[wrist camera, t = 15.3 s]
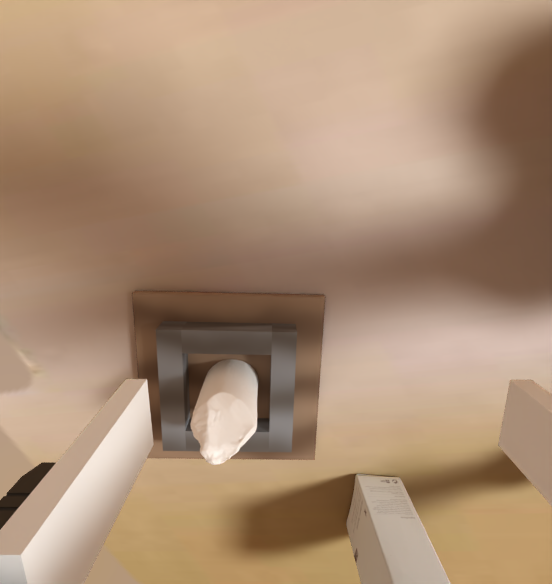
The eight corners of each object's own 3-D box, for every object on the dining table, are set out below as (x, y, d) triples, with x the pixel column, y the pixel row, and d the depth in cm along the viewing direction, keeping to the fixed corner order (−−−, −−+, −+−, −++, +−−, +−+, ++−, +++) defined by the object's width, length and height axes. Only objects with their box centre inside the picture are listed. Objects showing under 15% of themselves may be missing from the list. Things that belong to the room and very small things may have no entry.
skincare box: (355, 472, 45) (396, 602, 30) (402, 475, 45) (466, 606, 30) (345, 526, 47) (379, 673, 32) (390, 529, 47) (444, 676, 33)
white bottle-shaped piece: (253, 424, 28) (257, 484, 29) (257, 357, 39) (260, 403, 41) (175, 428, 28) (183, 489, 29) (202, 360, 39) (207, 406, 41)
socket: (135, 290, 38) (122, 299, 35) (323, 294, 39) (328, 304, 35) (147, 452, 43) (136, 473, 40) (313, 453, 44) (317, 475, 40)
